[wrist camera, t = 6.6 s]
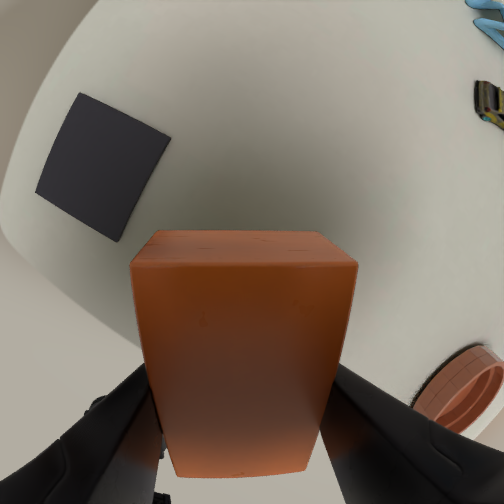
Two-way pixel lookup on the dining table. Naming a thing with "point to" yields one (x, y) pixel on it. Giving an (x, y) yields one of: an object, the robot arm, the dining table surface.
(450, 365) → the bowl
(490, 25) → the chair
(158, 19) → the dining table surface
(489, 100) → the race car
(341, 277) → the orange block
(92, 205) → the mat
